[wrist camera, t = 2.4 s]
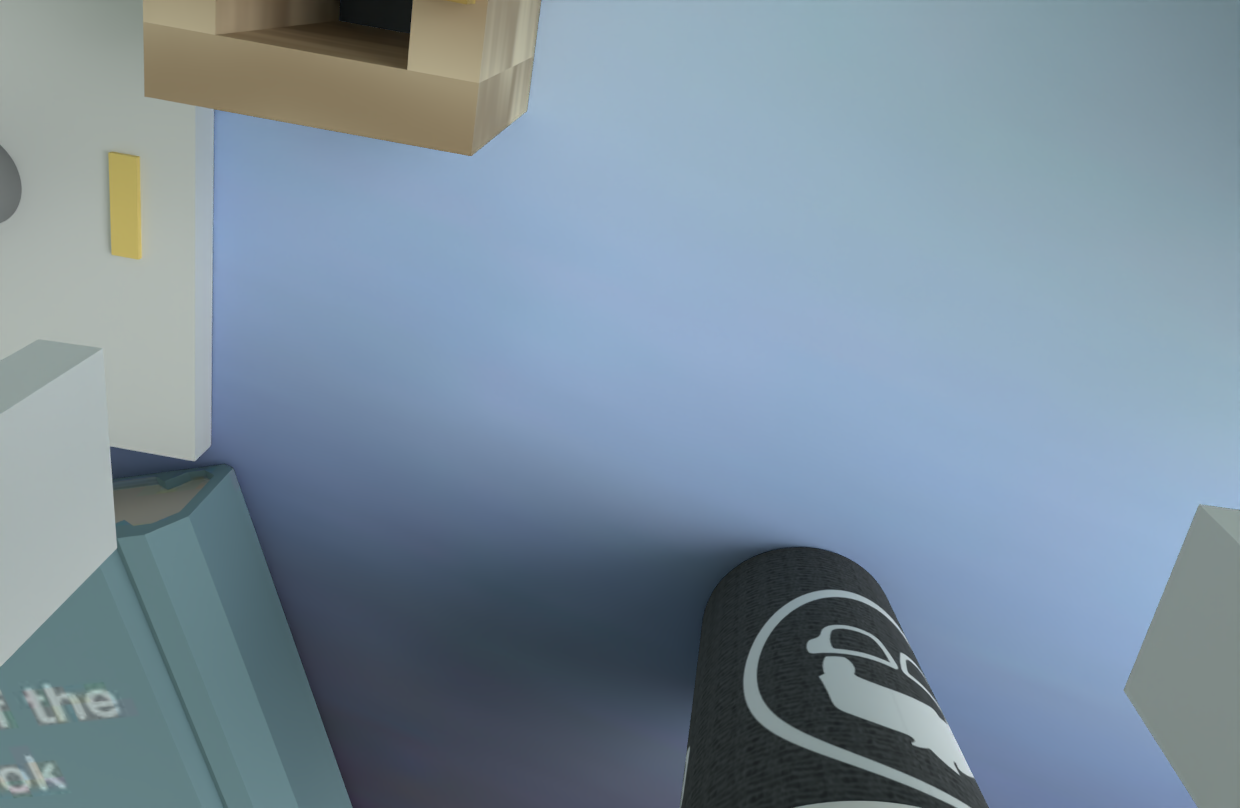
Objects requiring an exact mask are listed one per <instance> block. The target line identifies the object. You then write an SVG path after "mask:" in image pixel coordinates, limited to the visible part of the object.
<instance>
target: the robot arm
mask: <svg viewBox="0 0 1240 808" xmlns="http://www.w3.org/2000/svg"><path fill="white" fill-rule="evenodd" d="M116 549H117V540H116V526H115V512H114V498H113V484H112V470H111V456H110V442H109V428H108V414H107V399H106V385H105V371H104V357H103V348H97V347H90V346H83V345H76V344H69V343H62V342H55V341H48V340H41V339H38V340H36V341H34V342H32V343H31V344H29V345H27V346H25V347H24V348H22V349H20V350H18V351H16V352H15V353H13V354H11V355H9V356H8V357H6V358H4V359H2V360H0V667H1V666H2V665H3V664H4V663H5V662H6V661H7V660H8V659H9V658H10V657H11V656H12V655H13V654H14V653H15V652H16V651H17V649H18V648H19V647H20V646H21V645H22V644H23V643H24V642H25V641H26V640H27V639H28V638H29V637H30V636H31V635H32V634H33V633H34V632H35V631H36V630H37V629H38V628H39V627H40V626H41V625H42V624H43V623H44V622H45V621H46V620H47V619H48V618H49V617H50V616H51V615H52V614H53V613H54V612H55V611H56V610H57V609H58V608H59V607H60V606H61V605H62V604H63V603H64V602H65V601H66V600H67V599H68V598H69V597H70V596H71V595H72V594H73V593H74V592H75V591H76V590H77V588H78V587H79V586H80V585H81V584H82V583H83V582H84V581H85V580H86V579H87V578H88V577H89V576H90V575H91V574H92V573H93V572H94V571H95V570H96V569H97V568H98V567H99V566H100V565H101V564H102V563H103V562H104V561H105V560H106V559H107V558H108V557H109V556H110V555H111V554H112V553H113V552H114V551H115V550H116ZM1124 692H1125V693H1126V695H1127V696H1128V698H1129V700H1130V701H1131V703H1132V704H1133V706H1134V707H1135V709H1136V711H1137V712H1138V714H1139V715H1140V717H1141V718H1142V720H1143V722H1144V723H1145V725H1146V726H1147V728H1148V729H1149V731H1150V733H1151V734H1152V736H1153V737H1154V739H1155V740H1156V742H1157V744H1158V745H1159V747H1160V748H1161V750H1162V752H1163V753H1164V755H1165V756H1166V758H1167V759H1168V761H1169V763H1170V764H1171V766H1172V767H1173V769H1174V770H1175V772H1176V774H1177V775H1178V777H1179V778H1180V780H1181V781H1182V783H1183V785H1184V786H1185V788H1186V789H1187V791H1188V793H1189V794H1190V796H1191V797H1192V799H1193V800H1194V802H1195V804H1196V805H1197V807H1198V808H1240V510H1236V509H1229V508H1222V507H1215V506H1208V505H1201V504H1199V506H1198V508H1197V511H1196V513H1195V516H1194V518H1193V521H1192V523H1191V526H1190V528H1189V530H1188V533H1187V535H1186V538H1185V540H1184V543H1183V545H1182V548H1181V550H1180V553H1179V555H1178V558H1177V560H1176V562H1175V565H1174V567H1173V570H1172V572H1171V575H1170V577H1169V580H1168V582H1167V585H1166V587H1165V590H1164V592H1163V595H1162V597H1161V599H1160V602H1159V604H1158V607H1157V609H1156V612H1155V614H1154V617H1153V619H1152V622H1151V624H1150V627H1149V629H1148V631H1147V634H1146V636H1145V639H1144V641H1143V644H1142V646H1141V649H1140V651H1139V654H1138V656H1137V659H1136V661H1135V664H1134V666H1133V668H1132V671H1131V673H1130V676H1129V678H1128V681H1127V683H1126V686H1125V688H1124Z"/></svg>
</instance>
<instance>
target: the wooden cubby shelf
mask: <svg viewBox="0 0 1240 808" xmlns="http://www.w3.org/2000/svg"><path fill="white" fill-rule="evenodd" d="M540 5H541V0H413V5H412V17H411V30H410V33H405V32H399V31H394V30H388V29H383V28H377V27H372V26H367V25H361V24H356V23H350V22H345V21H339V18H340V0H143V42H144V97H150V98H155V99H161V100H166V101H172V102H177V103H183V104H188V105H194V106H199V107H205V108H210V109H216V110H221V111H227V112H232V113H238V114H243V115H249V116H254V117H259V118H265V119H270V120H276V121H281V122H287V123H292V124H298V125H303V126H309V127H314V128H320V129H325V130H331V131H336V132H342V133H347V134H353V135H358V136H364V137H369V138H375V139H380V140H386V141H391V142H397V143H402V144H408V145H413V146H419V147H424V148H430V149H435V150H441V151H446V152H451V153H457V154H462V155H468V156H472V155H473V154H474V153H476V152H477V151H478V150H479V149H481V148H482V147H483V146H484V145H485V144H487V143H488V142H489V141H490V140H492V139H493V138H494V137H495V136H497V135H498V134H499V133H500V132H502V131H503V130H504V129H505V128H507V127H508V126H509V125H510V124H511V123H513V122H514V121H515V120H516V119H518V118H519V117H520V116H521V115H523V114H524V113H525V112H526V111H527V107H528V99H529V91H530V84H531V76H532V68H533V60H534V52H535V44H536V37H537V29H538V21H539V13H540Z"/></svg>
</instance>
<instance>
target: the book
mask: <svg viewBox="0 0 1240 808" xmlns="http://www.w3.org/2000/svg"><path fill="white" fill-rule="evenodd" d="M112 484H113V498H114V512H115V526H116V540H117V549H116V550H115V551H114V552H113V553H112V554H111V555H110V556H109V557H108V558H107V559H106V560H105V561H104V562H103V563H102V564H101V565H100V566H99V567H98V568H97V569H96V570H95V571H94V572H93V573H92V574H91V575H90V576H89V577H88V578H87V579H86V580H85V581H84V582H83V583H82V584H81V585H80V586H79V587H78V588H77V590H76V591H75V592H74V593H73V594H72V595H71V596H70V597H69V598H68V599H67V600H66V601H65V602H64V603H63V604H62V605H61V606H60V607H59V608H58V609H57V610H56V611H55V612H54V613H53V614H52V615H51V616H50V617H49V618H48V619H47V620H46V621H45V622H44V623H43V624H42V625H41V626H40V627H39V628H38V629H37V630H36V631H35V632H34V633H33V634H32V635H31V636H30V637H29V638H28V639H27V640H26V641H25V642H24V643H23V644H22V645H21V646H20V647H19V648H18V649H17V651H16V652H15V653H14V654H13V655H12V656H11V657H10V658H9V659H8V660H7V661H6V662H5V663H4V664H3V665H2V666H1V667H0V808H352V805H351V802H350V799H349V796H348V794H347V791H346V788H345V785H344V782H343V779H342V776H341V774H340V771H339V768H338V765H337V762H336V759H335V757H334V754H333V751H332V748H331V745H330V742H329V739H328V737H327V734H326V731H325V728H324V725H323V722H322V720H321V717H320V714H319V711H318V708H317V705H316V702H315V700H314V697H313V694H312V691H311V688H310V685H309V683H308V680H307V677H306V674H305V671H304V668H303V665H302V663H301V660H300V657H299V654H298V651H297V648H296V646H295V643H294V640H293V637H292V634H291V631H290V628H289V626H288V623H287V620H286V617H285V614H284V611H283V609H282V606H281V603H280V600H279V597H278V594H277V591H276V589H275V586H274V583H273V580H272V577H271V574H270V572H269V569H268V566H267V563H266V560H265V557H264V555H263V552H262V549H261V546H260V543H259V540H258V537H257V535H256V532H255V529H254V526H253V523H252V520H251V518H250V515H249V512H248V509H247V506H246V503H245V500H244V498H243V495H242V492H241V489H240V486H239V483H238V481H237V478H236V475H235V472H234V469H233V468H232V467H230V466H228V465H226V464H221V465H213V466H206V467H198V468H191V469H183V470H176V471H168V472H161V473H153V474H146V475H138V476H131V477H124V478H116V479H112Z"/></svg>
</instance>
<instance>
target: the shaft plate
mask: <svg viewBox="0 0 1240 808" xmlns="http://www.w3.org/2000/svg"><path fill="white" fill-rule="evenodd" d="M213 174H214V109H210V108H205V107H199V106H194V105H188V104H183V103H177V102H172V101H166V100H161V99H155V98H150V97H144V42H143V0H0V360H2V359H4V358H6V357H8V356H9V355H11V354H13V353H15V352H16V351H18V350H20V349H22V348H24V347H25V346H27V345H29V344H31V343H32V342H34V341H36V340H38V339H41V340H48V341H55V342H62V343H69V344H76V345H83V346H90V347H97V348H103V357H104V371H105V385H106V399H107V414H108V428H109V442H110V446H111V447H117V448H123V449H128V450H134V451H139V452H145V453H150V454H156V455H161V456H167V457H173V458H178V459H184V460H189V461H196V460H197V459H198V458H199V457H200V456H201V455H202V454H203V453H204V452H205V451H206V450H207V449H208V448H209V447H210V446H211V393H212V283H213Z"/></svg>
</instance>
